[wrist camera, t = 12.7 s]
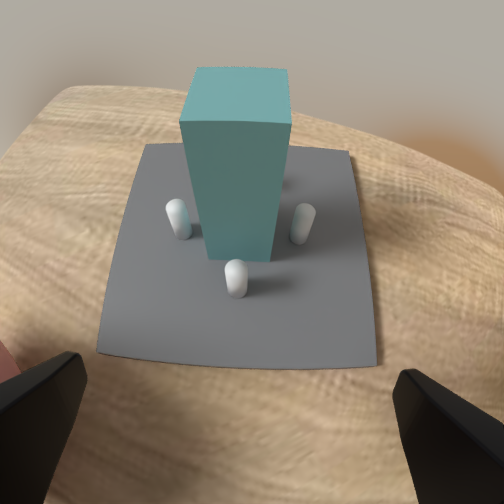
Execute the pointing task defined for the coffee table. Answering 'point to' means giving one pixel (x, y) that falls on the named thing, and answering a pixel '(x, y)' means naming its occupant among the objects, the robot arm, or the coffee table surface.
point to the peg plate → (242, 275)
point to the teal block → (237, 156)
